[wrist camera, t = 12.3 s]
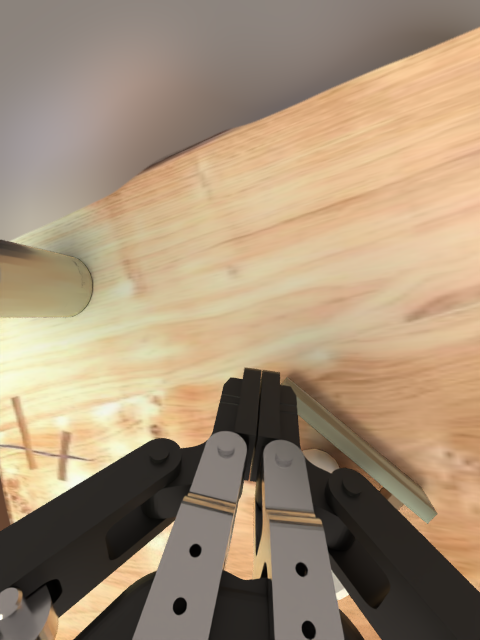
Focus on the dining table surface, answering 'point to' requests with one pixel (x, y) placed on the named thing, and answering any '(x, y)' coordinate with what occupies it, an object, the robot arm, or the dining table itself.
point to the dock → (364, 456)
